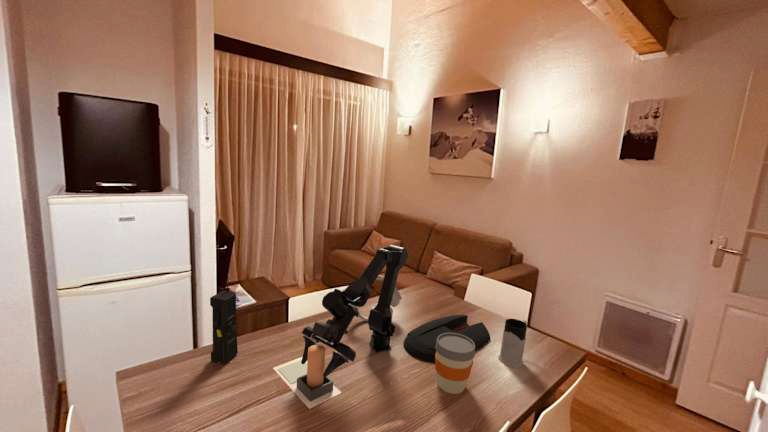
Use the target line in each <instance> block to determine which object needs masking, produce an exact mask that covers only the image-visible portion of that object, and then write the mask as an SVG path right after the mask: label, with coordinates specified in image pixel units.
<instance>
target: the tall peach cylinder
mask: <svg viewBox="0 0 768 432" xmlns="http://www.w3.org/2000/svg"><path fill="white" fill-rule="evenodd" d="M325 359H326V348H325V346H323V345H321V344H317V345H313V346H310V347H309V348H308V360H307V361H308V362H307V386H308V387H309V388H310V389H311V390H313V389H315V388H317V387H320V386H322V385H323V383H324V377H323V374H324V372H325V362H326V361H325Z"/></svg>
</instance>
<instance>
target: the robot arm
mask: <svg viewBox="0 0 768 432" xmlns="http://www.w3.org/2000/svg"><path fill="white" fill-rule="evenodd" d="M408 258H409V252H408V250H407V248H405V247H403V246H402V247H401V246H398V245H395V244H390V245H388V246H383V247H382V248H378V249H377V250H376V252H375V255H374V256H373V258H372V260H370V262H369V264H368V265H367V267H366V268H365V269H364V271H363V272H362V274H361V275H360V277H358V278H356V279H355V280H353V281H351V282H350V283H349V285H348V286H347V287H346V288H344V289H343V290H340V289H337V288H334V290H333V291H330V292H328V293H326V295H324V296H323V297H322V300H321V305H322V307H323V308H324V309H325V310H326V311H327V312H328V313H329V314H331V315H332V318H331V319H330V318H329V319H328V320H327V321H326V322H321V321H314V325H313V326H312V327H311V326H309V325H307V326H306V327H304V328H303V329H302V331H301V334H302V335H303V336H302V338H303V339H304V349H303V353H302V356H301V357H302V361H301V363H302V364H305V362H306V361H308V348H309V347H310V346H313V345H318V343H321V344H323V345H325V346H327V347H328V348H331V349H333V350H334V351H333V352H332V357H331V359H330V361H329V363H328V365H327V366H326V368H325V369H324V374H323V377H326V376H328V377H329V375H331V373H333V372H334V371H335V370H336V369H338V368H339V367H341V366H342V365H344V364H346V363H347V364H348V363H349V361H350V362H352V363H354V361H355V359H356V357H357V355H356V354H357V352H356V350H354V348H352V347H350V346H349V345H347V344H345V343H343V342H341V341H342V339H343V337H344V335H348V334H349V331H348V328H349V326H350V325H351V323H352V322H353V319H354V318H355V317H356V318H359V317H358V310H359V308H361V307H364V306H365V305H366V304H367V302H368V300H369V298H370V296H371V289H372V286H373V285H374V284H375V282H376V281H377V280H376V279H377V277H378V276H379V275H381V272H382V271H383V270H384V268H385V272H384V275H383V276H384V279H383V280H382V285H381V288H380V292H379V296H378V300H377V304H376V305H377V306H376V307H375V308H374V309H372V308H371V309H370V310H369V315H368V316H367V317H368V321H367V324H368V328H369V331H372V332H371V333H372V334H371V336H370V342H369V345H370V346H371V348H373V350H374V351H375V352H377V353H379V352H383V351H388V350H389V351H390V350H392V346H391V345H390V344H391V337H392V336H394V333H395V331H396V326H395V325H394V324H393V323H392V319H393V315H392V314H391V311H390V307H391V301H392V297H393V293H394V289H395V287H396V284H397V280H398V278H399V277H398V276H399V272H400V271H401V269H402V268H403V267H405V265H406V263H407V260H408ZM375 280H376V281H375ZM351 305H354V306H357V308H358V309H357V308H355V307H352V306H351ZM331 343H332V344H331Z"/></svg>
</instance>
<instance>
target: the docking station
mask: <svg viewBox="0 0 768 432" xmlns="http://www.w3.org/2000/svg"><path fill="white" fill-rule="evenodd" d="M465 323H466V324H467V323H468V315H466V314H454V315H452V314H451V315H447V316H442V317H440V318H436V319H433V320H430V321H427V322H426V323H423V324H421V325H419V326H417V327H415V328H414V329H412V330H410V331H409V332H407V335H406V337H405V338H404V340H403V348H404V350H405V351H406V352H407V353H408V354H409V355H411V356H412V357H414V358H416V359H417V360H418V359H419V360H422V361H425V362H430V363H435V354H436V348H435V345H436V341H437V338H438V336H439V335H441V334H443V333H458V334H461V335H464V336H466V337H468V338H470V339H471V340H472V341H473V342H474V344H475V352H477V351H479V350H480V349H481V348H483V347H484V346H486V345H487V344H488V343H489V342H488V341H491V336H490V332H489V330H488V329H487V327H486V325H485V324H484V323H483V322H482V321H481V322H477V323H473V324H470V325H469V326H467V327H465V328H462V329H460V330H458V331H454V330H455V329H456V327H457V328H459V327H462V326H464V325H466V324H465ZM463 324H464V325H463ZM454 328H455V329H454ZM487 342H488V343H487ZM486 343H487V344H486ZM478 349H479V350H478Z"/></svg>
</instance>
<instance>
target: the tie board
mask: <svg viewBox="0 0 768 432" xmlns="http://www.w3.org/2000/svg"><path fill="white" fill-rule="evenodd" d="M302 357H303V356H300V357H299V358H298V357H297V358H296V359H293V360H292V359H291V360H290V361H288V362H284V363H281V364H279V365H277V366H274V367H272V370H274V372H275V373H276V374H277V375H278V376H279V377H280V378H281V380H283V382H284V383H286V384H287V386H288V387H289V389H291V390H292V392H293V393H294V394H296V396H297V397H298V398H299V399H300V400H301V401H302V402H303V404H304V405H306V407H307V408H308V409H309V410H310V409H312V408H315V407H316V406H319V405H320V404H322V403H325V402H326V401H328V400H330V399H332V398H334V397H336V396H338V395H340V394H342V391H341V390H340V389H339V388H337V386H335V385H334V380H332V379H331V378H330V377H329V375H328V376H326V377H324V383H323V385H322V386H320V387H317V388H315V389H313V390H311V389H310V388H309V387H308V386H307V362H308V360H307V361H306V362H305V364H302V363H301V361H302Z"/></svg>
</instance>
